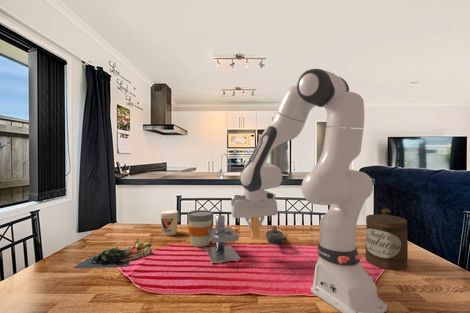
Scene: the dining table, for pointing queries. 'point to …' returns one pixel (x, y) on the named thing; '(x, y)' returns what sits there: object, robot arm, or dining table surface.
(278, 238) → the zipper pull
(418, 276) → the dining table surface
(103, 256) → the plated dish
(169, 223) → the coffee cup
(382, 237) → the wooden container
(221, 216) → the grey finned stand
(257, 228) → the wedge pin
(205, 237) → the reusable coffee cup
